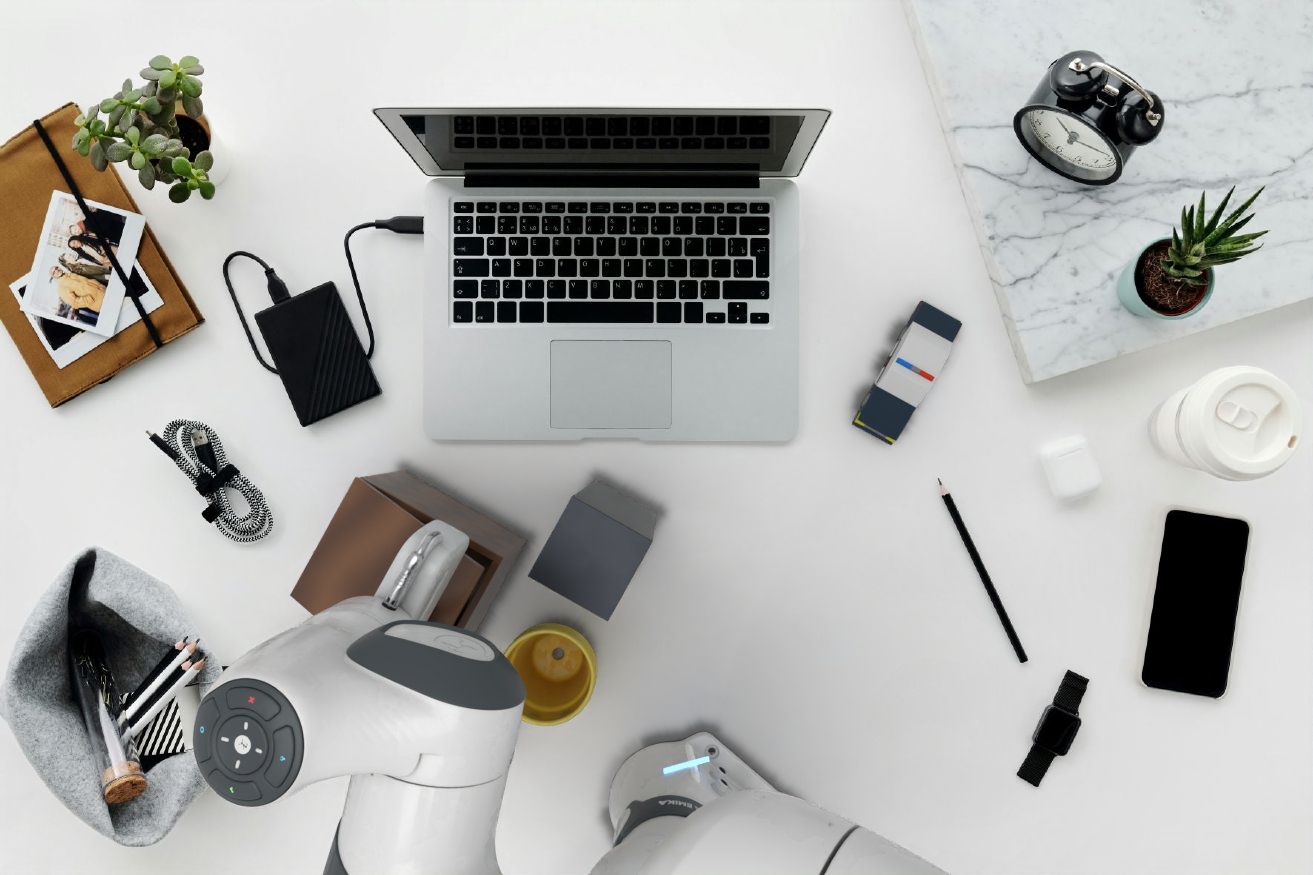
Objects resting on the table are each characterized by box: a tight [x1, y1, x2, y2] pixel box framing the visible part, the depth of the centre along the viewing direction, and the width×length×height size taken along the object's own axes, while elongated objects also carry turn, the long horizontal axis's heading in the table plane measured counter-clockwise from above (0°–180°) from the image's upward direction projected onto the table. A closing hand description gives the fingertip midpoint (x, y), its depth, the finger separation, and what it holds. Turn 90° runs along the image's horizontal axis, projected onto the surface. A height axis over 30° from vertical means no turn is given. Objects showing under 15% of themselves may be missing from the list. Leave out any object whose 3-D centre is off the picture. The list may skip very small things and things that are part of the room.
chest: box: [359, 470, 528, 633], centre depth 85 cm, size 17×14×13 cm
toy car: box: [851, 300, 963, 446], centre depth 88 cm, size 5×16×5 cm, turn 151°
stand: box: [527, 478, 657, 622], centre depth 79 cm, size 8×8×24 cm
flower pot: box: [503, 622, 598, 727], centre depth 87 cm, size 10×10×10 cm
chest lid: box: [289, 476, 485, 626], centre depth 75 cm, size 18×14×1 cm
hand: (417, 615), depth 72 cm, fingers closed, pressing on chest lid
